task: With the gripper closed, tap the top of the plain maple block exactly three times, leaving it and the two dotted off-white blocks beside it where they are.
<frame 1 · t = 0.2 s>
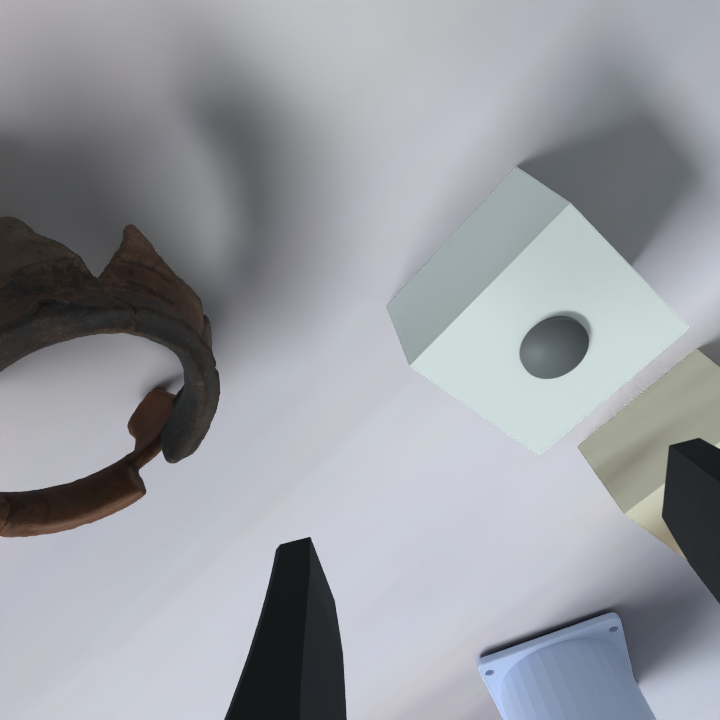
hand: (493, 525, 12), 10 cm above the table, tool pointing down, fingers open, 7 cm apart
brown curved open piece: (29, 321, 19), on the table
maple block: (669, 430, 25), on the table
one-dot block: (505, 288, 20), on the table
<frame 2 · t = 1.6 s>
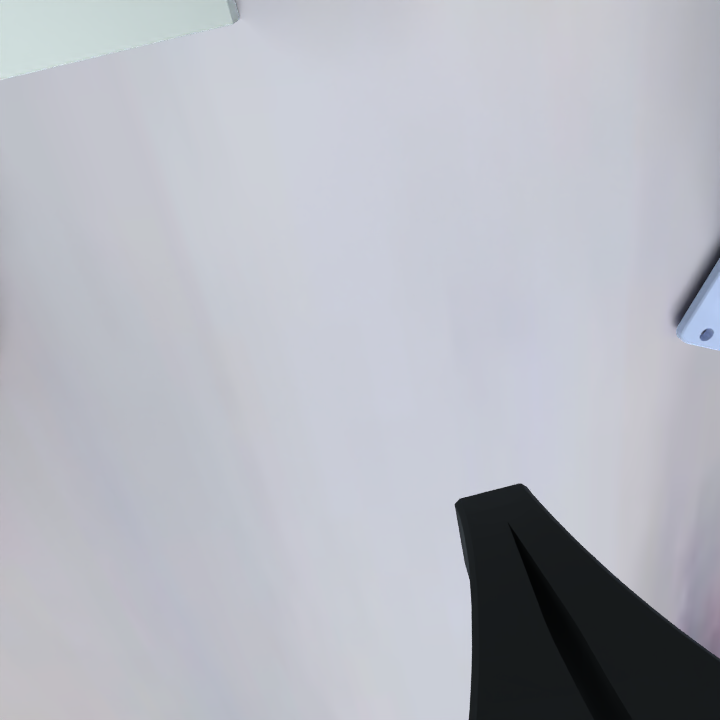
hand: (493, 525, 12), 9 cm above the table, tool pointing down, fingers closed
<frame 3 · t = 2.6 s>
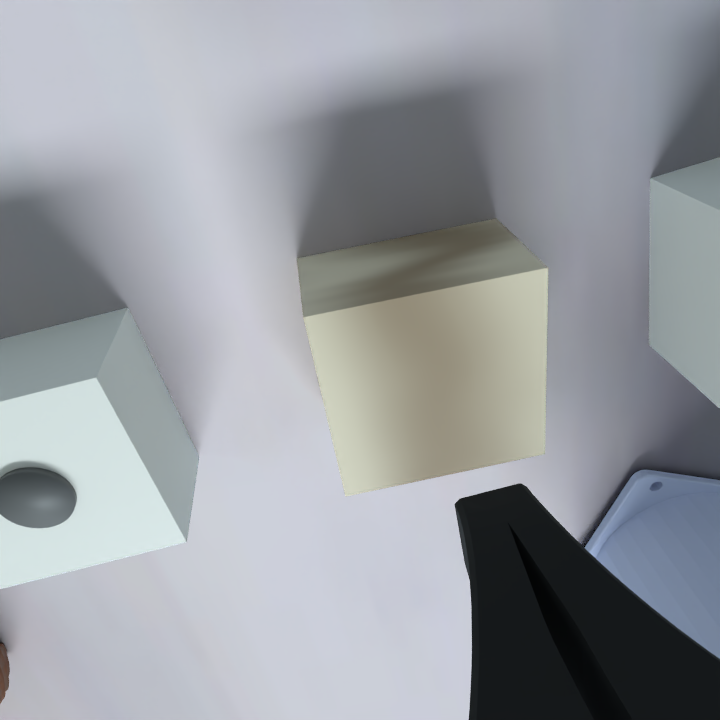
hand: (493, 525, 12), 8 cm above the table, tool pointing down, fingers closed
maple block: (407, 323, 19), on the table
one-dot block: (77, 407, 19), on the table
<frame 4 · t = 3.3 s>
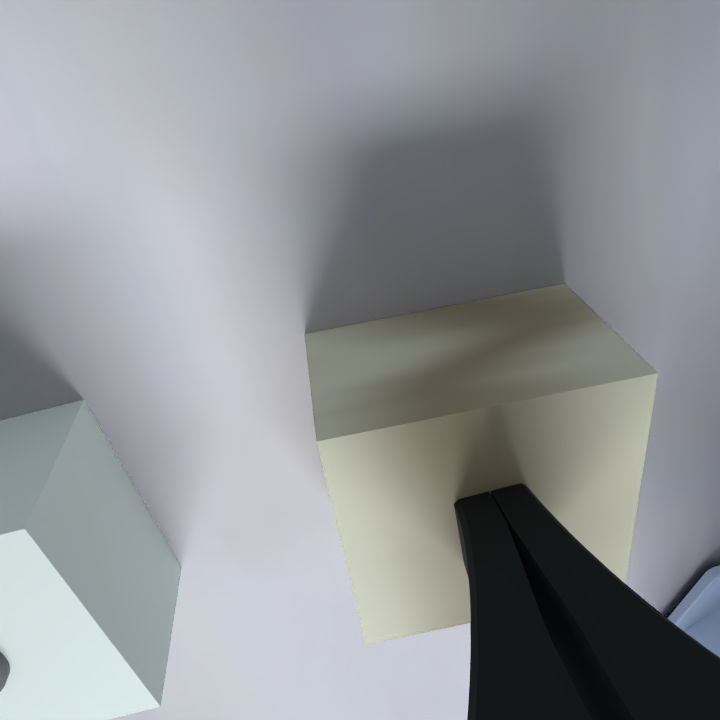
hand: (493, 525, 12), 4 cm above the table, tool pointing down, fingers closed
maple block: (442, 407, 15), on the table, touching gripper
one-dot block: (24, 516, 15), on the table
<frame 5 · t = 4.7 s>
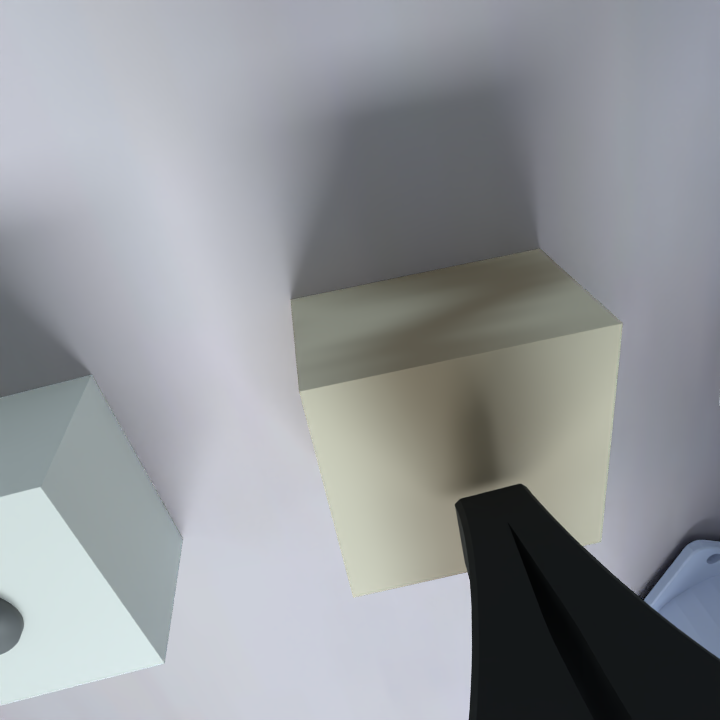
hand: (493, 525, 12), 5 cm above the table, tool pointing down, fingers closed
maple block: (426, 373, 16), on the table
one-dot block: (34, 488, 16), on the table
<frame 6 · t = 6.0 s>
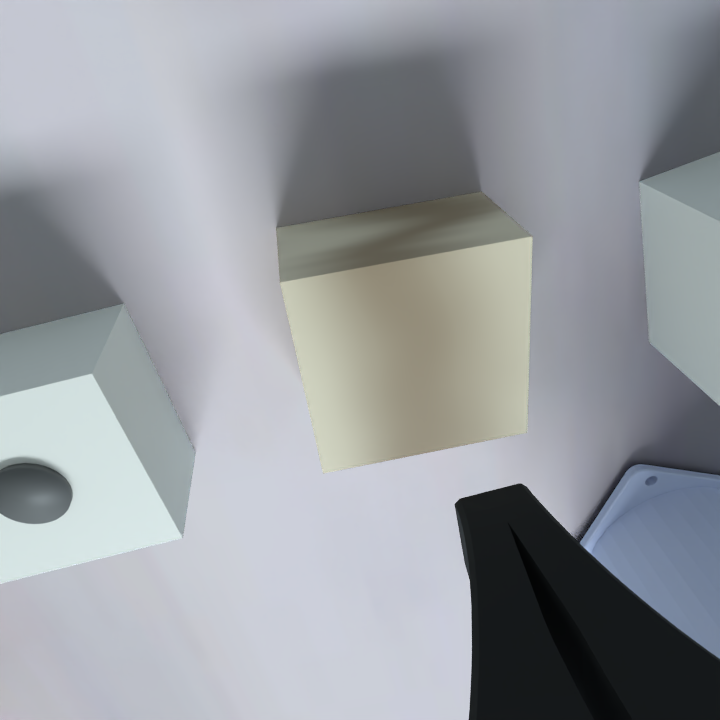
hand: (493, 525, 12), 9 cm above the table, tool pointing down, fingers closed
maple block: (389, 299, 19), on the table
one-dot block: (73, 403, 19), on the table
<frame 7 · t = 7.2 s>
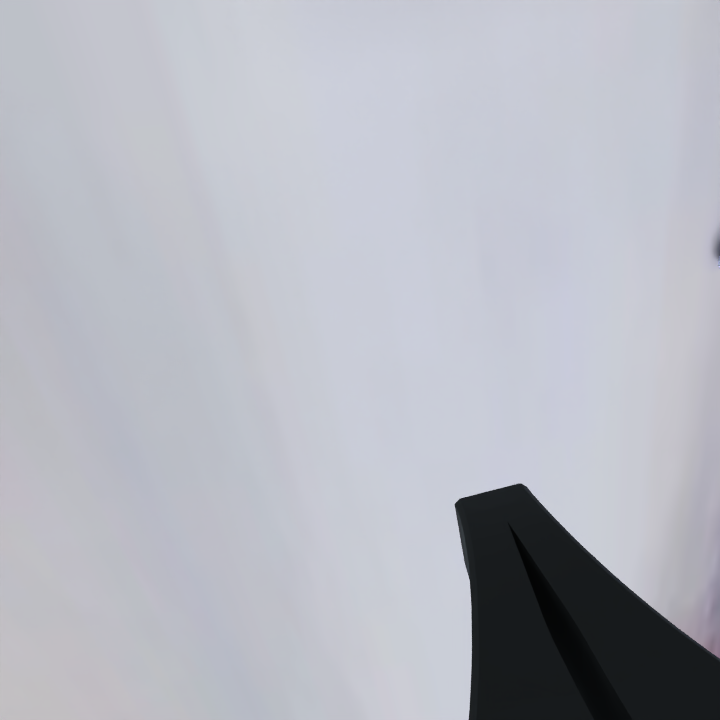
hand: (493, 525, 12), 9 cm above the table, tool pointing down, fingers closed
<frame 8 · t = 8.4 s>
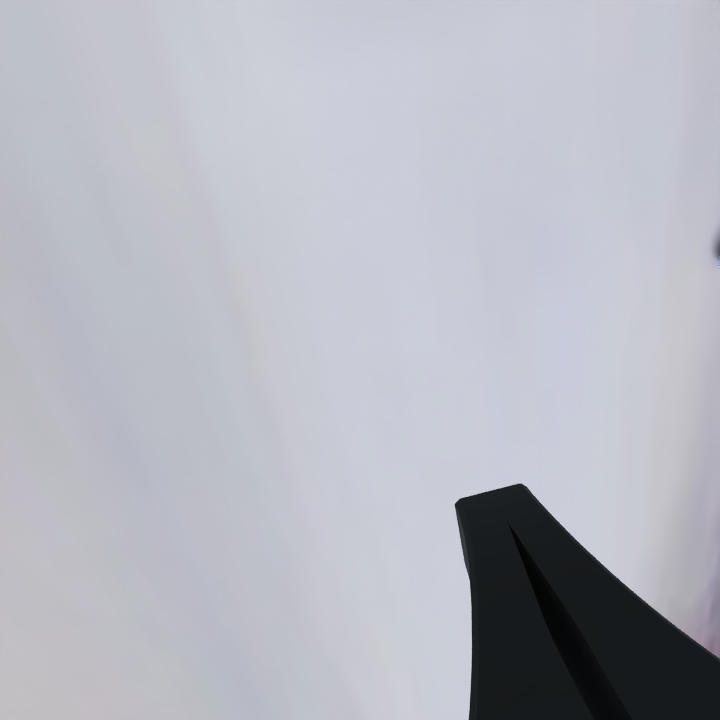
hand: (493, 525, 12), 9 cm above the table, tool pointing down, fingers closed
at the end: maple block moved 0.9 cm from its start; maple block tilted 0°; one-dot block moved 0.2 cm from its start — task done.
